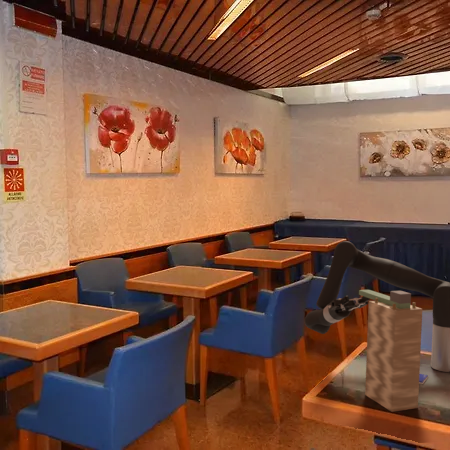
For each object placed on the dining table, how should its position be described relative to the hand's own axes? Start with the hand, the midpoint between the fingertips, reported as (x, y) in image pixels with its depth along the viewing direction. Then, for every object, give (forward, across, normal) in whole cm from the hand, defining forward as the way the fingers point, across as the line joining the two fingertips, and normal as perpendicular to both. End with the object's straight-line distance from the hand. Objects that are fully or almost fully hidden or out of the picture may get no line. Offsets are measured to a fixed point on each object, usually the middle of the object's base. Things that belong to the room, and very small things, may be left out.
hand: (358, 297), depth 186 cm
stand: (+2, 0, +36) cm, 36 cm away
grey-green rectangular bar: (+13, 0, +6) cm, 14 cm away
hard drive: (-12, +20, +29) cm, 37 cm away
